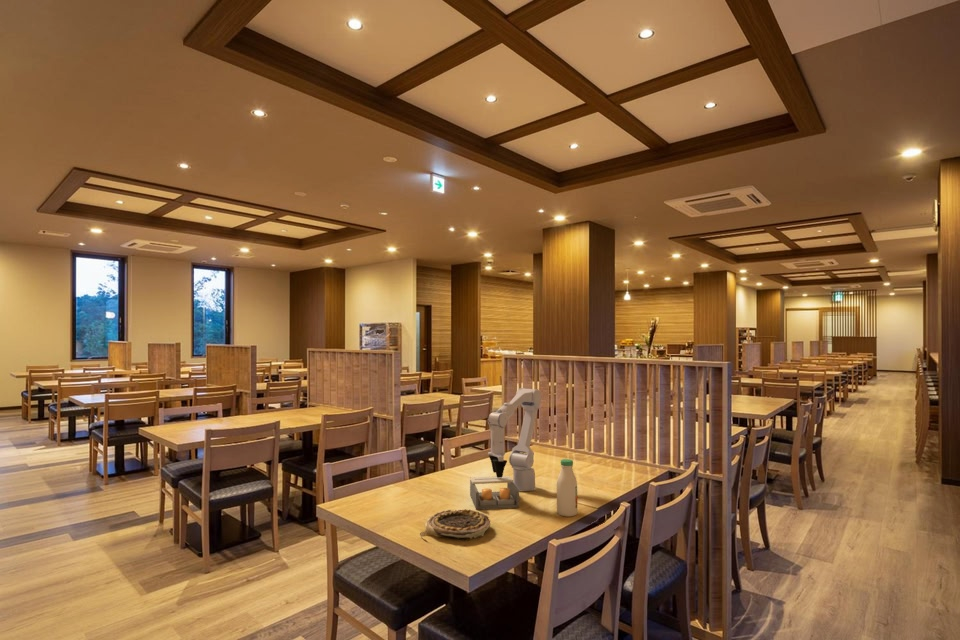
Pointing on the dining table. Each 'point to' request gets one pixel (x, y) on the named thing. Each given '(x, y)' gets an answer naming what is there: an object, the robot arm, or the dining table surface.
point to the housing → (494, 498)
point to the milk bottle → (566, 490)
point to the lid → (491, 480)
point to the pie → (457, 524)
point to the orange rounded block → (504, 493)
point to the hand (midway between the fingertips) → (497, 474)
